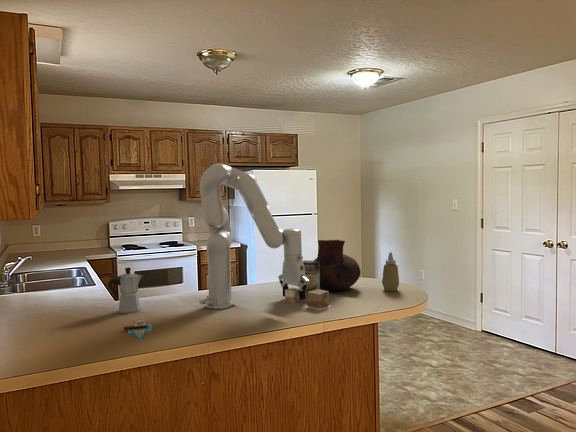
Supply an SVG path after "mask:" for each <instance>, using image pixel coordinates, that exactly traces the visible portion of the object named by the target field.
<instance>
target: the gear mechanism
mask: <svg viewBox="0 0 576 432" xmlns="http://www.w3.org/2000/svg"><path fill="white" fill-rule="evenodd" d="M142 318H143V319H139V320H135V324H133V325H131V326H124V327H123V330H124V331H128V332H127V333H128V334H135V335H134V336H135V337H137V339H139V340H140V339H142V336H145V333H147V332H152V330H153V329H152V324H149V323H148V324H147V323H145V315H142Z"/></svg>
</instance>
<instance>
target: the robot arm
mask: <svg viewBox="0 0 576 432" xmlns="http://www.w3.org/2000/svg"><path fill="white" fill-rule="evenodd" d="M257 181H258V180H257V178H256V176H255V175H253V174H252V173H249V172H246V171H243V170H240V169H237V168H235V167H232V166H229V165H227V164H224V163H214V164H212V165H211V166H209V167H208V168H207V169H206V170H205V171H204V172H203V174H202V175H201V178H200V182H199V192H200V200H201V208H202V213H203V214H202V215H203V220H204V223H205V225H206V226H207V227H208V231H209V236H208V237H207V240H206V255H207V280H208V281H207V282H208V295H206V298H204V299H200V300H199V305H201V306H202V305H204V304H205V307H206V308H207V309H212V310H223V309H229V308H232V307H235V304H236V301H235V300H233V299H232V269H231V267H232V266H231V265H232V264H231V246H232V243H233V236H232V230H231V223H230V218H229V217H230V216H229V213H228V211H227V209H226V208H225V207H224V205H223V204H224V203H223V198H222V197H223V196H222V191H221V186H222V185H224V186H227V187H229V188H232V189H235V190H237V191H238V192H239V194H240V196H241V198H242V200H243V201H244V203H245V206H246V207H247V210H248V212H249V213H250V216H251V218H252V219H253V221H254V223H255V225H256V227H257V229H258V231H259V233H260V235H261V237H262V239H263V241H264V242H265V244H266V246H268V248H271V249H278V248H280V247H281V246H282V245H283V257H284V258H283V262H282V271H281V272H282V273H281V274H280V275H278V276H277V277H278V280H279V283H280V286H281V288H282V297H285V290H286V289H290V288H289V286H288V285H291V286H295V287H298V289H300V291H299V300H302V301H303V300H306V295H305V290H306V289H307V287H308V285H309V282H310V281H309V280H308V279H307V278H306V274H305V267H304V262H303V261H304V260H303V259H304V257H303V256H302V255H303V251H302V250H303V249H302V231H301V230H300V228H286V229H283V228H279V227H278V225H277V222H276V220H275V218H274V217H273V214H272V212H271V208H270V204H269V202H268V201H267V199H266V198H265V195H264V192H263V191H262V189H261V187H260V185H259V184H258V182H257ZM301 285H302V286H301Z"/></svg>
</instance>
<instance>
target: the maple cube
mask: <svg viewBox="0 0 576 432" xmlns="http://www.w3.org/2000/svg"><path fill="white" fill-rule="evenodd" d="M299 291H300V289H299V288H297V287H296V288H295V287H291V288H289V289H286V290H285V298H284V300H285V302H288V303H292V304H294V303H298V302H302V301H303V300H299Z"/></svg>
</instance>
